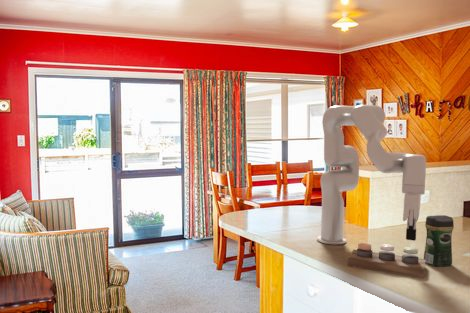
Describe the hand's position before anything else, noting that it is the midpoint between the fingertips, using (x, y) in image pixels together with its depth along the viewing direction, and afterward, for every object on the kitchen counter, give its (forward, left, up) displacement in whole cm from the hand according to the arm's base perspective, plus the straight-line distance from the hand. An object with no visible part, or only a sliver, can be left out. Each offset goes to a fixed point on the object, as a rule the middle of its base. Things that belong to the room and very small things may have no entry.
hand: (410, 239), depth 159 cm
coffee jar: (-13, +9, -12) cm, 20 cm away
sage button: (0, 0, -5) cm, 5 cm away
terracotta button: (0, -16, -6) cm, 17 cm away
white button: (0, -8, -5) cm, 9 cm away
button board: (0, -8, -11) cm, 14 cm away
